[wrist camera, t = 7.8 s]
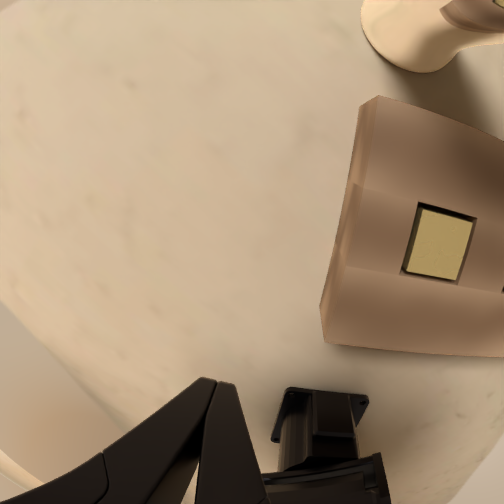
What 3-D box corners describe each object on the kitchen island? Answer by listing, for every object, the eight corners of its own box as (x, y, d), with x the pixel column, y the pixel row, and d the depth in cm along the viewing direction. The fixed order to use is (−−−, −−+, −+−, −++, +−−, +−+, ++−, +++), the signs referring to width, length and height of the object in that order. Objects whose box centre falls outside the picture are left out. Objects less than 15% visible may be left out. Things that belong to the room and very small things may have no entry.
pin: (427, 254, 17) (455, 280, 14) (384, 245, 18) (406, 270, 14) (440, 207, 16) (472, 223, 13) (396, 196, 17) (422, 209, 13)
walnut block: (506, 329, 18) (531, 357, 14) (319, 305, 19) (324, 342, 16) (552, 180, 14) (587, 189, 11) (359, 106, 15) (378, 95, 12)
